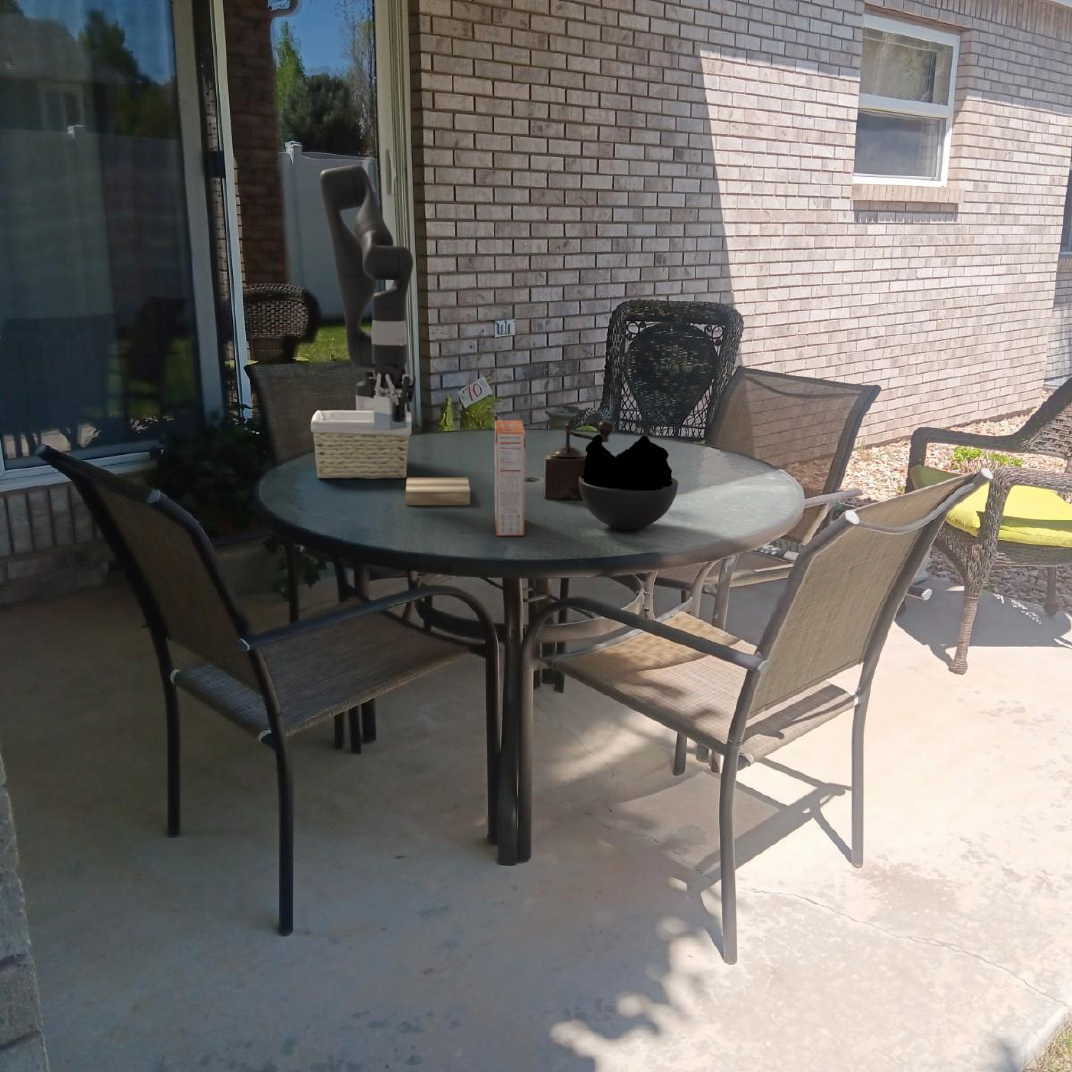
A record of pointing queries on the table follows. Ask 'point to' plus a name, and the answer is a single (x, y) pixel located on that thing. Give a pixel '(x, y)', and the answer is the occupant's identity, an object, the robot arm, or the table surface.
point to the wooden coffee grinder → (568, 465)
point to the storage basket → (358, 446)
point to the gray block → (387, 413)
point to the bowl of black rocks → (627, 484)
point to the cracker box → (509, 477)
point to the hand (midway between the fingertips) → (390, 419)
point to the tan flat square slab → (437, 491)
